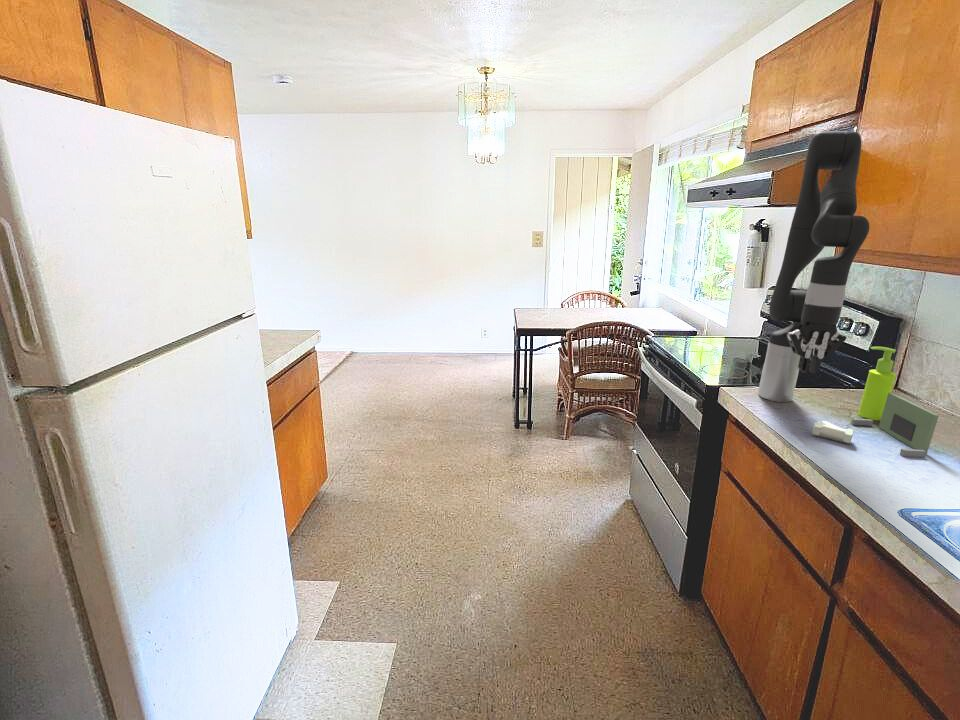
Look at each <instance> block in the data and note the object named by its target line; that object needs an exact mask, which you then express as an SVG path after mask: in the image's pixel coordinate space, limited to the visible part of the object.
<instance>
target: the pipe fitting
mask: <svg viewBox="0 0 960 720" xmlns="http://www.w3.org/2000/svg"><path fill="white" fill-rule="evenodd" d="M811 435H812V436H815V437H818V438H820V437H821V438H825V439H828V440H833V441H836V442H841V443H842V444H846V445H851V442H852V438H853V435H854V430H853V429H849V428H842V427H840V426H838V425H835V424H834V423H831V422H829V421H827V420H823V421H815V422H814V425H813V429H812V433H811Z"/></svg>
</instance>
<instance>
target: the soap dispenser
mask: <svg viewBox="0 0 960 720" xmlns="http://www.w3.org/2000/svg"><path fill="white" fill-rule="evenodd" d="M870 349H871V350H872V351H873V350H877V351H878V350H879V351H884V352H883V356H882V358H879V359H877V363H876V366H875V369H869V370H868V375H867V378H866V382H865V385H864V390H863V392H862V397H861V402H860V404H859V405H860V406H859V409H858V412H857V414H858V416H860V417H862V418H863V419H871V420H873V421H880V420H881V417H882V413H883V410H884V406H885V403H886V399H887V395H888V393H893V389H894V384H895V383H896V382H895V381H896V378H897V374H896V373H894V372H892V370H893V366H894V360H892V359H891V358H892V357H893V354H895V353H896V351H897V350H896V349H895V348H891V347H886V346H871V347H870Z"/></svg>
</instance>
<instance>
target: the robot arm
mask: <svg viewBox="0 0 960 720" xmlns="http://www.w3.org/2000/svg"><path fill="white" fill-rule="evenodd" d="M861 153H862V137H861V134H860V133H859V132H857V131H851V130H850V131H849V130H846V131H845V130H841V131H840V130H838V131H837V130H835V131H834V130H833V131H831V130H830V131H828V130H827V131H818V132H815V134H814V135H813V136H812V137H811V140H810V143H809V145H808V149H807V153H806V157H805V162H804V163H805V164H804V169H803V174H802V180H801V185H800V189H799V195H798V199H797V203H796V206H795V210H794V213H793V218H792V221H791V225H790V229H789V233H788V236H787V242H786V247H785V251H784V256H783V259H782V263H781V267H780V271H779V275H778V277H777V281H776V282H775V285H774V289H773V292H772V296H771V299H770V303H769V308H768V309H769V310H768V314H769V317H770V318H771V320H773V321H776V322H791V324H790V325H788V326H787V327H786V326H785V328H780V329H779V330H774V331H772V332H771V333H770V334H769V339H768V343H767V348H766V349H767V350H766V353H765V359H764V362H763V366H762V371H761V376H760V381H759V385H758V386H759V387H758V391H757V392H758V396H759V397H761V398H762V399H765V400H769V401H772V402H777V403H790V402H792V401H793V398H794V393H795V391H796V385H797V380H798V378H799V377H798V376H799V372H801V373H806V374H807V373H808V371H809V372H810V373H812V374H816V373H818V371H819V370H820V368H821V364H822V360H823V358H826V357H829V358H830V357H832V356H833V355H834V353H836V351H837V350H838V349H839V348H840V347H841V346H842V344H843V343H845V341H846V340H847V336H846V335H844V334H841V333H839V332H838V328H837V325H838V323H839V321H840V317H841V313H842V309H843V304H844V300H845V297H846V296H845V295H846V285H847V282H848V279H849V273H850V269H851V266H852V264H853V262H854V259H855V258H856V256H857V254H858V253H859V250H860V248H861V247H862V246H863V244H864V242H865V241H866V239H867V237H868V235H869V232H870V222H869V220H868V219H867V218H866V217H865V216H863V215H855V214H856V212H857V209H858V202H857V188H856V186H857V178H858V173H859V166H860V162H861V161H860V159H861ZM821 170H823V171H824V170H830V171H832V170H833V171H836V170H837V171H838V170H839V171H838V172H837V173H836V174H834V175H833V176H832V177H831V178H830V179H828V181H827V182H826V183H825V184H824V186H823V187H822V189H820V186H819V180H818V179H819V171H821ZM820 190H821V191H820ZM825 247H826V248H827V247H831V248H843V249H842V250H841V252H839V253H838V254H836V255H833V256H832V255H831V256H823V257H819V258H817V257H818V255H819V254H821V252H823V250H824V248H825ZM815 258H817V259H816V260H815V261H814V264H813V268H812V272H811V275H810V282H809V285H808V288H807V290H799V289H798V290H796V289H795V290H794V289H793V287H794V283H795V282H796V280H797V278H798V276H799V275H800V274H801V273H802V271H803V270H804V269H805V268H807V266H809V265H810V263H811V262H812V261H813V260H814V259H815ZM811 355H812V356H811ZM810 357H811V358H810Z"/></svg>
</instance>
